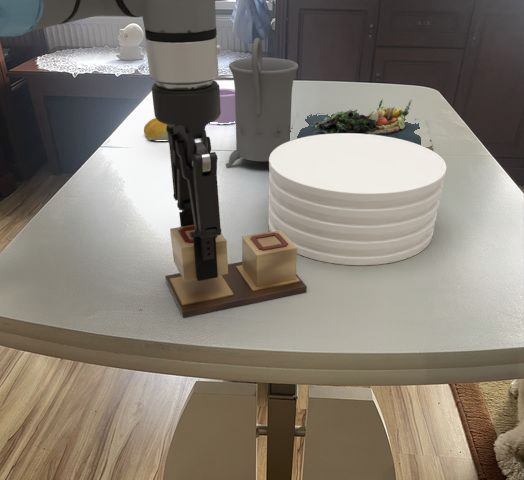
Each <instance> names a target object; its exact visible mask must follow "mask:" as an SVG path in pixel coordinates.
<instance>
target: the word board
mask: <svg viewBox="0 0 524 480" xmlns="http://www.w3.org/2000/svg"><path fill="white" fill-rule="evenodd" d="M164 278H165V284H166V285H167V288H168V289H169V292H170V294H171V296H172V298H173V299H174V301H175V304H176V306H177V308H178V310H179V312H180V314H181V316H182V318H183V319H184V318H189V317H193V316H199V315H203V314H204V315H205V314H208V313H213V312H217V311H222V310H227V309H231V308H236V307H241V306H246V305H251V304H255V303H256V304H257V303H262V302H267V301H269V300H275V299H280V298H284V297H285V298H286V297H289V296H294V295H295V296H296V295H298V294H299V295H300V294H303V293H307V287H308V286H307V285H306V283H305V282H304V281H303V280H302V279H301V278H300V277H299V276H298V274H297V273H296V279H295V280H290V281H285V282H280V283H275V284H270V285H265V286H260V287H256V285H255V284H254V282H253V281H252V280H251V278H250V277H249V275H248V274H247V273H246V271H245V270H244V269H243V264H242V261H239V262H232V263H228V274H225V275H220V276H218V277H217V278H212V279H206V280H201V281H198V280H194V281H189V282H184V280H183V278H182V276H181V274H180V272H179V273H178V272H177V273H173V274H167V275H165V276H164Z"/></svg>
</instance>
